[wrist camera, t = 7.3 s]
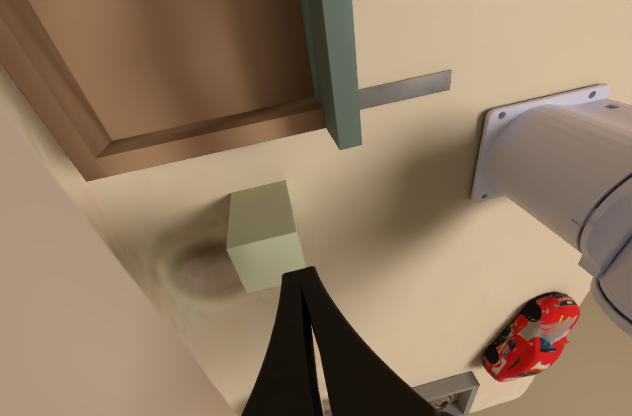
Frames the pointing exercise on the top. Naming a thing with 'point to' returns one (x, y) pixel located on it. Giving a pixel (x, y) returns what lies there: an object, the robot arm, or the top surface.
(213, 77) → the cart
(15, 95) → the top surface
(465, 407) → the desk organiser
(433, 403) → the compass
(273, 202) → the sage block
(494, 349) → the race car
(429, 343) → the top surface
